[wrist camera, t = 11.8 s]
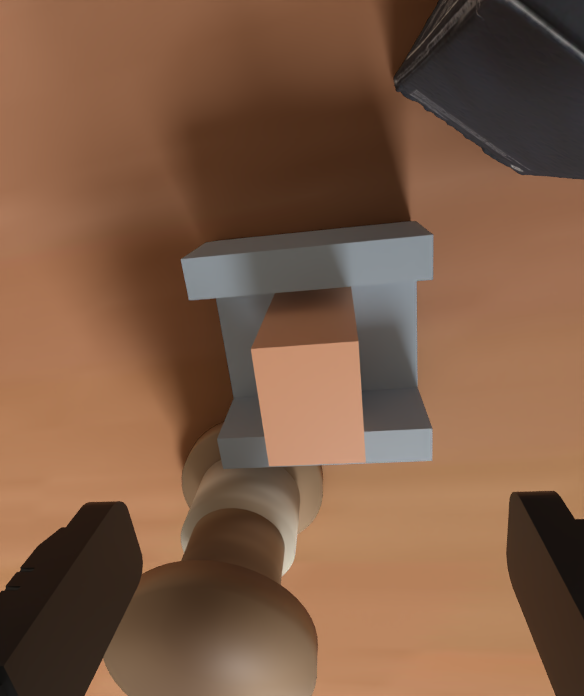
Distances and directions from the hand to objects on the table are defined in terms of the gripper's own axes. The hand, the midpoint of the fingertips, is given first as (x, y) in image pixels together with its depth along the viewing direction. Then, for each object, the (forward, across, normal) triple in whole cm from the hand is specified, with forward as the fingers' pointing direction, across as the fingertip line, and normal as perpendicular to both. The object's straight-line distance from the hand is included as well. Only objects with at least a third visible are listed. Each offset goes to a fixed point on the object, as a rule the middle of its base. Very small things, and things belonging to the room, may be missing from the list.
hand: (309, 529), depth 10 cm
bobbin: (+12, +4, +7) cm, 14 cm away
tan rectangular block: (+10, 0, -1) cm, 10 cm away
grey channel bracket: (+12, 0, -1) cm, 12 cm away
